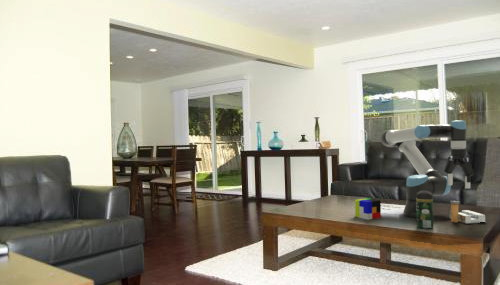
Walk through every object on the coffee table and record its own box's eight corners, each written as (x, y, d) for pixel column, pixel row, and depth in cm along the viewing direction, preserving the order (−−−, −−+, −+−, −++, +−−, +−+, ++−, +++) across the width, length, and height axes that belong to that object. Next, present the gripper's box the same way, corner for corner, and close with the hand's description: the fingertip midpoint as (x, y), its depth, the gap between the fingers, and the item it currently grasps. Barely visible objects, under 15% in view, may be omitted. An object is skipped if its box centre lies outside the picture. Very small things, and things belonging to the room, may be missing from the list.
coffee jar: (416, 224, 208) (416, 189, 208) (433, 225, 205) (432, 190, 205) (416, 228, 199) (416, 192, 199) (433, 229, 196) (433, 192, 196)
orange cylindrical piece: (453, 222, 210) (453, 202, 210) (448, 221, 214) (448, 200, 214) (461, 222, 211) (461, 201, 210) (456, 220, 215) (455, 200, 215)
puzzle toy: (367, 219, 222) (367, 202, 222) (355, 216, 231) (355, 199, 231) (380, 217, 227) (380, 200, 226) (368, 214, 235) (367, 198, 235)
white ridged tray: (465, 223, 208) (465, 215, 208) (449, 218, 222) (449, 210, 222) (485, 222, 209) (485, 215, 209) (467, 217, 223) (467, 210, 223)
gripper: (481, 149, 206) (481, 189, 206) (448, 147, 230) (449, 183, 231) (469, 149, 205) (469, 190, 205) (437, 147, 229) (437, 184, 230)
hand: (458, 186), depth 218 cm, fingers open, 13 cm apart
